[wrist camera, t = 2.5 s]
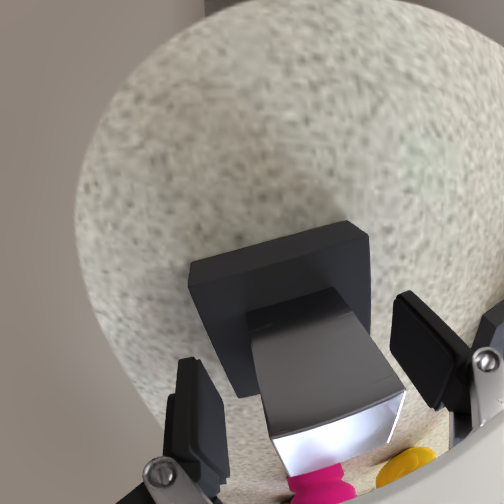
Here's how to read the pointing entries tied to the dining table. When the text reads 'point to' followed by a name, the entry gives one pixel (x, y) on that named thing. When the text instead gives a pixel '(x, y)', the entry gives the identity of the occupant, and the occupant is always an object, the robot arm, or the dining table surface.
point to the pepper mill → (321, 487)
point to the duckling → (404, 464)
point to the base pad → (491, 330)
